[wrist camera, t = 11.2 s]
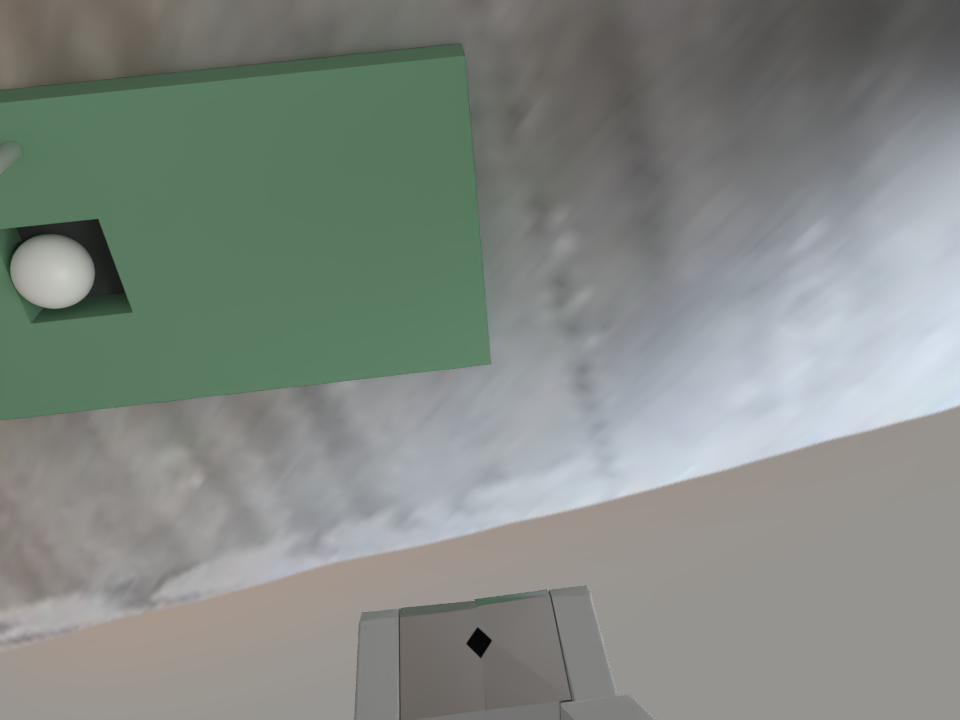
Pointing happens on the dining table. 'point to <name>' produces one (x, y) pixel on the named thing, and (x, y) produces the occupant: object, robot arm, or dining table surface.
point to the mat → (244, 229)
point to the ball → (52, 271)
